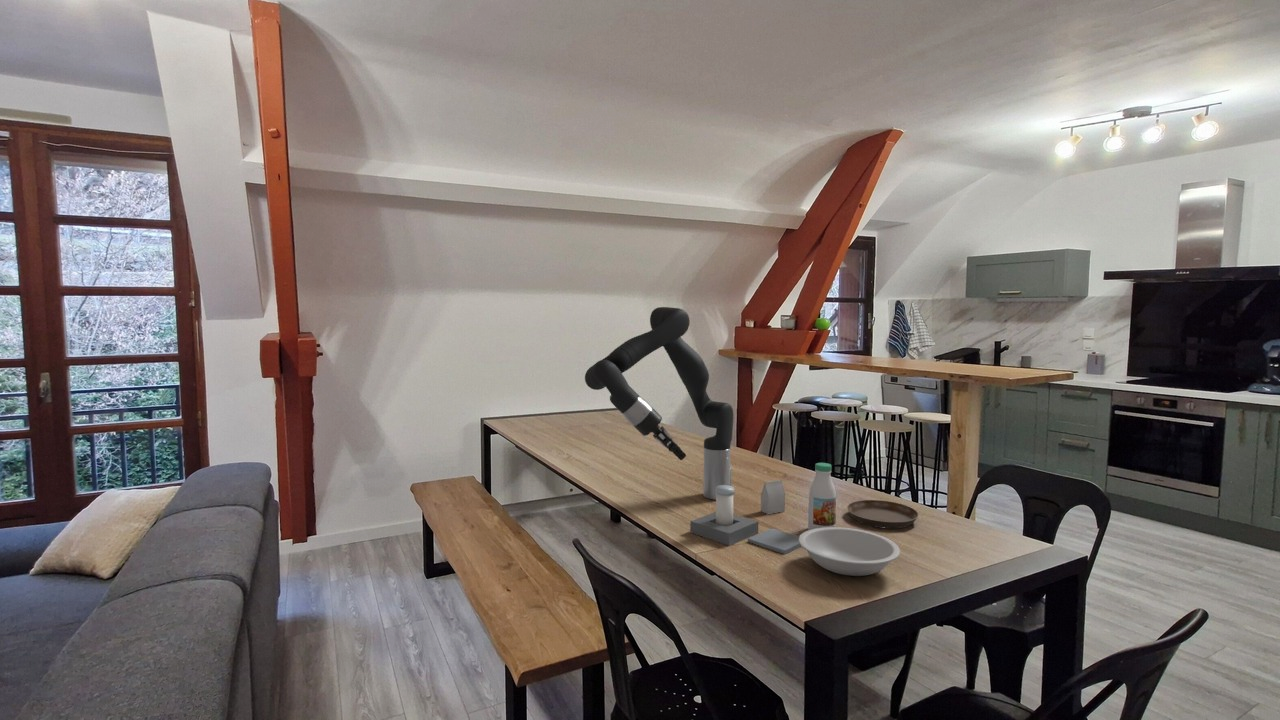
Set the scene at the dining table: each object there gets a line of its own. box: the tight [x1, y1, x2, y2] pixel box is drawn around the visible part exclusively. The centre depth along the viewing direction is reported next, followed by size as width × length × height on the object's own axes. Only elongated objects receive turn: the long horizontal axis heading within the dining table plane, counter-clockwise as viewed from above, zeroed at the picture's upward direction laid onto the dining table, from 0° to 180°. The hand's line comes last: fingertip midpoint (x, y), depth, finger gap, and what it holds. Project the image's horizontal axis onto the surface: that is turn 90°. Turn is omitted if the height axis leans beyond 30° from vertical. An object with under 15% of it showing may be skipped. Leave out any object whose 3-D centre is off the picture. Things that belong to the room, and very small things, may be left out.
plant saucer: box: [846, 499, 920, 529], centre depth 191 cm, size 21×21×3 cm
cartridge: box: [715, 485, 735, 527], centre depth 178 cm, size 5×5×14 cm
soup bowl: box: [799, 526, 901, 577], centre depth 153 cm, size 24×24×7 cm
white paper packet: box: [760, 479, 786, 515], centre depth 198 cm, size 4×7×10 cm, turn 116°
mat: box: [747, 528, 801, 555], centre depth 171 cm, size 12×12×1 cm
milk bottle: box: [807, 462, 837, 530], centre depth 180 cm, size 8×8×20 cm
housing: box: [689, 511, 759, 547], centre depth 178 cm, size 14×14×4 cm
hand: (681, 454), depth 176 cm, fingers open, 8 cm apart
